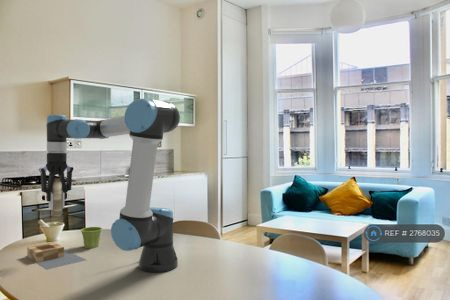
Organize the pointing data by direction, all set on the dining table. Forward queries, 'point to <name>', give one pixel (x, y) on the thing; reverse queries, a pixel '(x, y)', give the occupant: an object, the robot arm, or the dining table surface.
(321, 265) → the dining table surface
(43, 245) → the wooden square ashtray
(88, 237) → the plant pot
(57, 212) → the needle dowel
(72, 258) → the mat
